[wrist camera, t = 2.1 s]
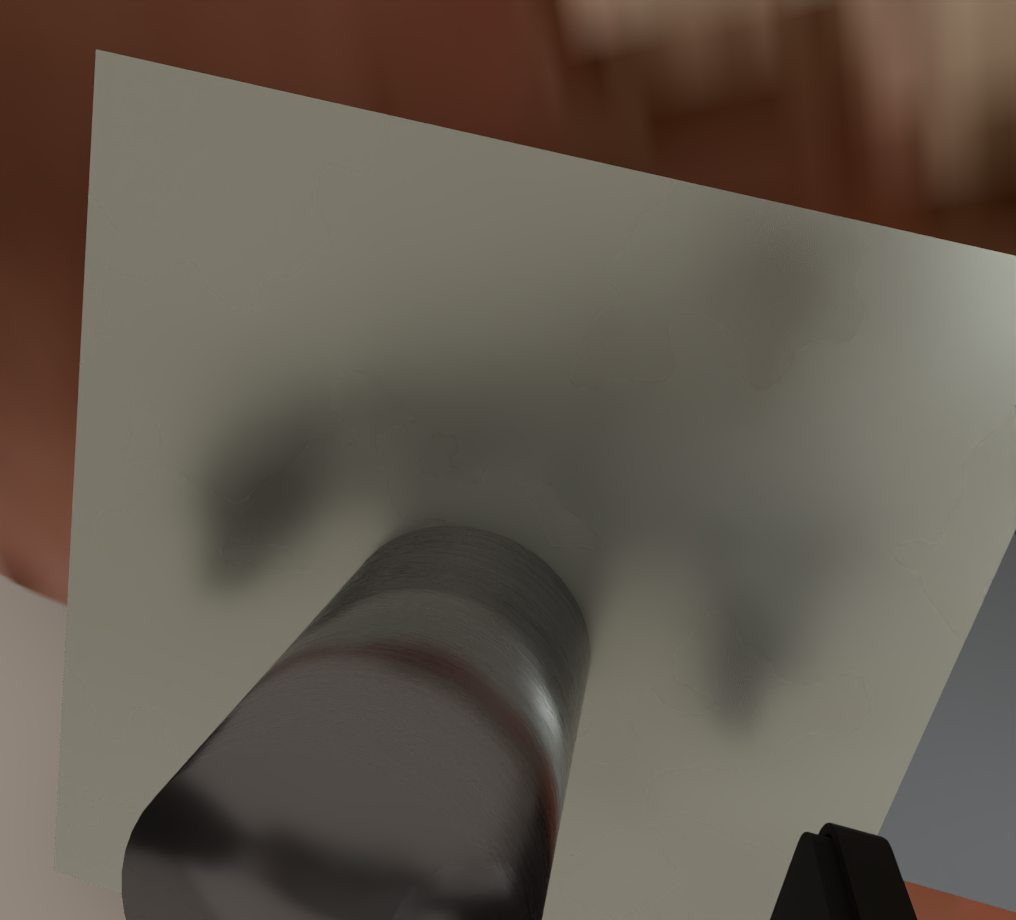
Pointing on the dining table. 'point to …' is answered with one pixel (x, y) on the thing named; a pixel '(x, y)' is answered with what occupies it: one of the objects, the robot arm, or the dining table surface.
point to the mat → (967, 766)
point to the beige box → (499, 518)
